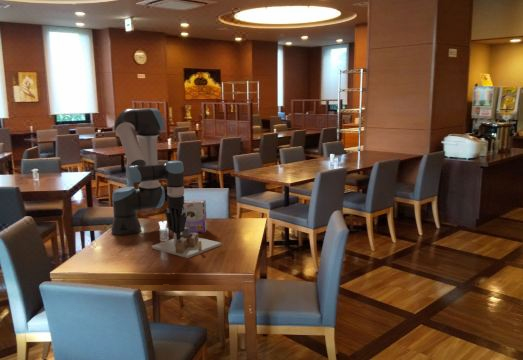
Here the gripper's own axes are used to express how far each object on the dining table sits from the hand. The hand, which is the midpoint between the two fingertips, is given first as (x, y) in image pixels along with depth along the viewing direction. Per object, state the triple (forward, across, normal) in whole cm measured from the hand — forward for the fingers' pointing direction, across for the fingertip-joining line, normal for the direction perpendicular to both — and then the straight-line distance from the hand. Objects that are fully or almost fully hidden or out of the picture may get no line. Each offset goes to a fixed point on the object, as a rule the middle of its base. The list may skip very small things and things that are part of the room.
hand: (176, 245), depth 212 cm
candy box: (+3, -15, +29) cm, 33 cm away
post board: (+3, -1, +8) cm, 8 cm away
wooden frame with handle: (+1, +1, +4) cm, 4 cm away
